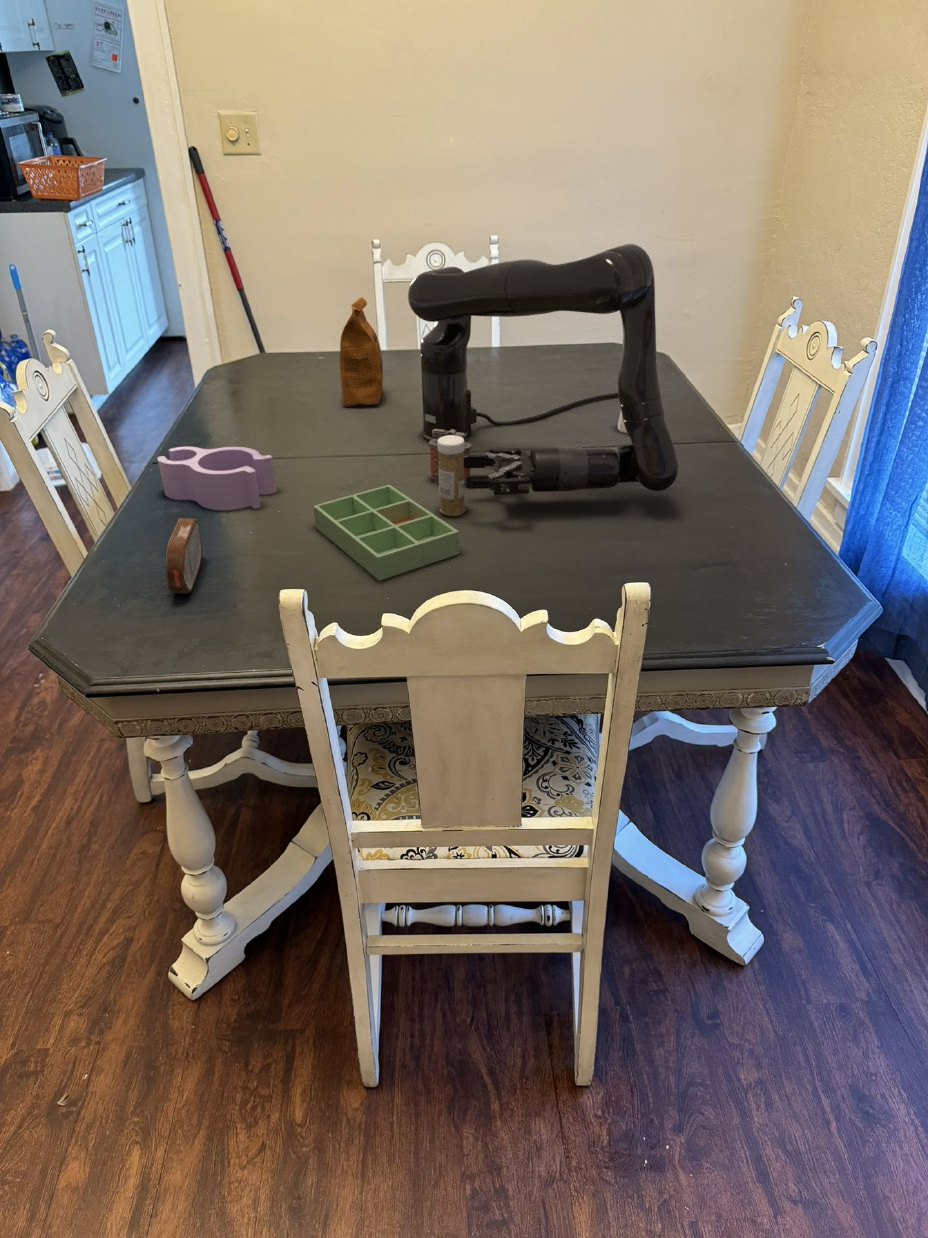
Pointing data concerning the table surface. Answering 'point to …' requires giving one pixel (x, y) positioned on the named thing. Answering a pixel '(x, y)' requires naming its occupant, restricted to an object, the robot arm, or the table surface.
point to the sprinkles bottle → (451, 475)
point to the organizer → (386, 531)
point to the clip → (217, 476)
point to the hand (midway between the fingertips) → (465, 471)
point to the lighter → (435, 455)
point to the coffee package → (360, 360)
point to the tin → (183, 556)
